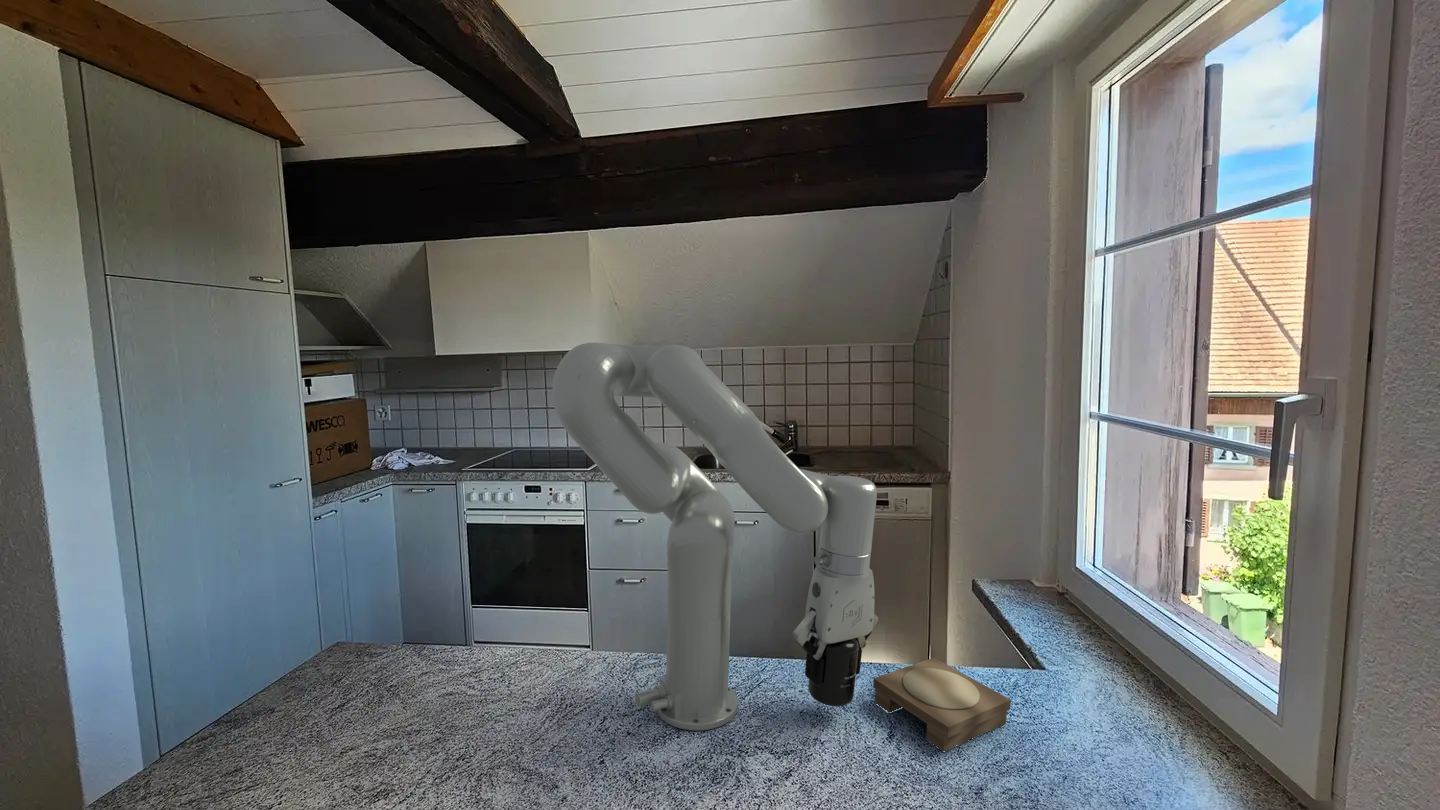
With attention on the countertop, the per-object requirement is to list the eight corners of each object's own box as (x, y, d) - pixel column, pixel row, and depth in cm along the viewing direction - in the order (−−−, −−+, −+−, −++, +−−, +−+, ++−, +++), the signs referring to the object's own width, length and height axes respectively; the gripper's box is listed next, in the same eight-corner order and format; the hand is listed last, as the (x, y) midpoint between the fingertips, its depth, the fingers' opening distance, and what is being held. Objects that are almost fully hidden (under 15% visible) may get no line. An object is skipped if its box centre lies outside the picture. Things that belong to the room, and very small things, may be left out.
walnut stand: (946, 755, 81) (948, 725, 81) (872, 702, 93) (873, 676, 93) (1009, 725, 88) (1011, 697, 88) (932, 680, 100) (934, 655, 100)
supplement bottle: (854, 712, 86) (862, 632, 84) (806, 703, 87) (814, 624, 86) (853, 686, 92) (860, 612, 91) (809, 679, 94) (815, 605, 93)
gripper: (814, 576, 80) (802, 702, 82) (904, 562, 89) (891, 675, 91) (781, 558, 87) (771, 674, 88) (868, 546, 95) (857, 652, 97)
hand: (832, 674), depth 89 cm, fingers closed on supplement bottle, 6 cm apart
